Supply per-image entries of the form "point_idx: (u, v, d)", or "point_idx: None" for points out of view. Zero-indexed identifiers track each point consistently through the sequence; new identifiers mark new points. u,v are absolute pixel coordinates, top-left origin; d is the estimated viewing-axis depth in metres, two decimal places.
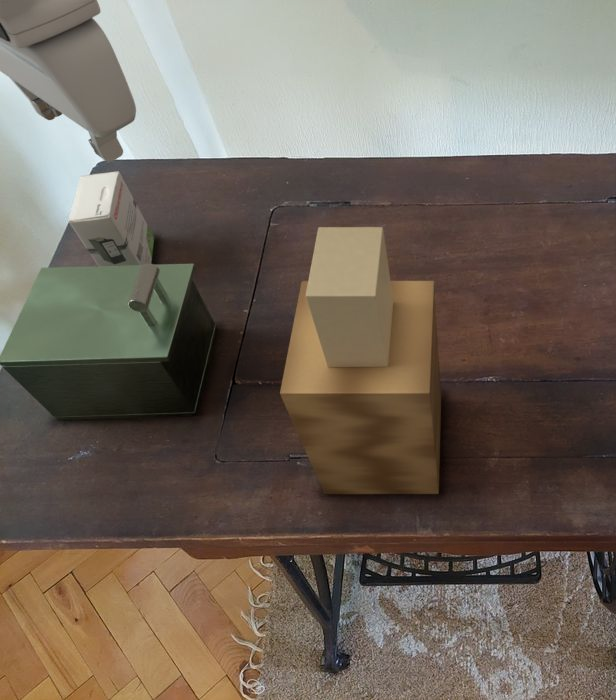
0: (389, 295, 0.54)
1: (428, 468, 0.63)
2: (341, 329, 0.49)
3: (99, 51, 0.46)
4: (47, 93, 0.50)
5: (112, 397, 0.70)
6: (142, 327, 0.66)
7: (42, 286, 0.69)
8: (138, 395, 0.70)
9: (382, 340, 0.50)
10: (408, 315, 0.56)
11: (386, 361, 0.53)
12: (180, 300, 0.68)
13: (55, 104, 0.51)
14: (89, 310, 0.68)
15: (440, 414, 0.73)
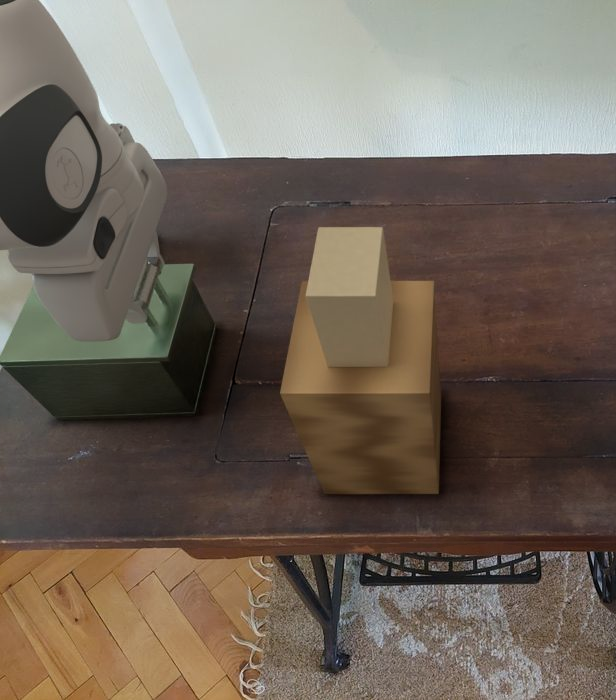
0: (389, 295, 0.54)
1: (428, 468, 0.63)
2: (341, 329, 0.49)
3: (81, 296, 0.52)
4: None
5: (112, 397, 0.70)
6: (142, 327, 0.66)
7: None
8: (138, 395, 0.70)
9: (382, 340, 0.50)
10: (408, 315, 0.56)
11: (386, 361, 0.53)
12: (180, 300, 0.68)
13: None
14: None
15: (440, 414, 0.73)
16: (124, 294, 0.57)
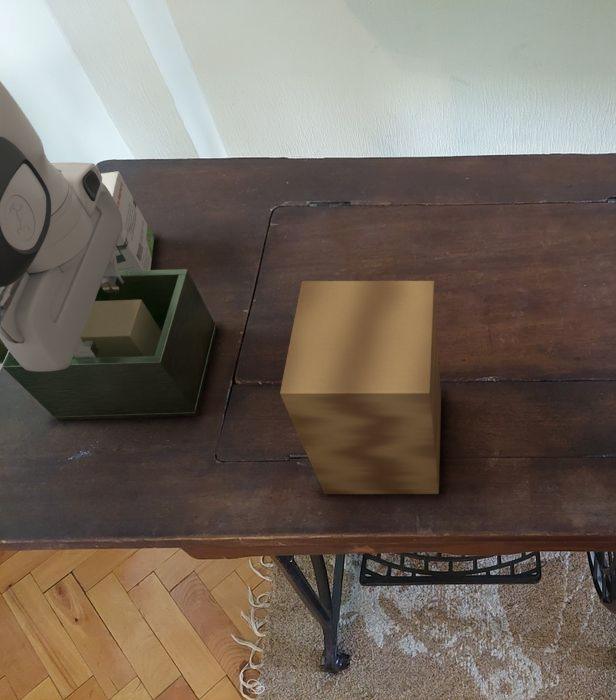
0: None
1: (428, 468, 0.63)
2: (149, 342, 0.72)
3: None
4: (103, 251, 0.66)
5: (112, 397, 0.70)
6: None
7: None
8: (138, 395, 0.70)
9: (159, 329, 0.75)
10: (408, 315, 0.56)
11: None
12: None
13: (107, 253, 0.67)
14: None
15: (440, 414, 0.73)
16: None
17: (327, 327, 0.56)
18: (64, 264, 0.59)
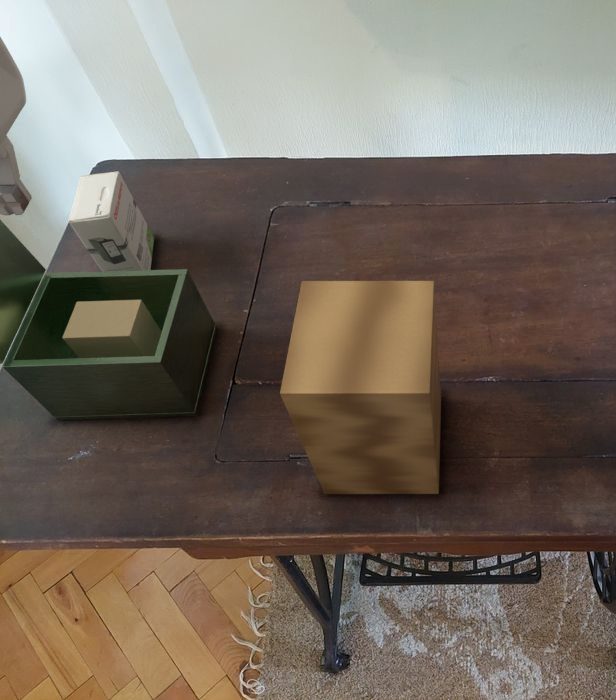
0: None
1: (428, 468, 0.63)
2: (149, 342, 0.72)
3: None
4: None
5: (112, 397, 0.70)
6: None
7: None
8: (138, 395, 0.70)
9: (159, 329, 0.75)
10: (408, 315, 0.56)
11: None
12: None
13: None
14: None
15: (440, 414, 0.73)
16: None
17: (327, 327, 0.56)
18: None
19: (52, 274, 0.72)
